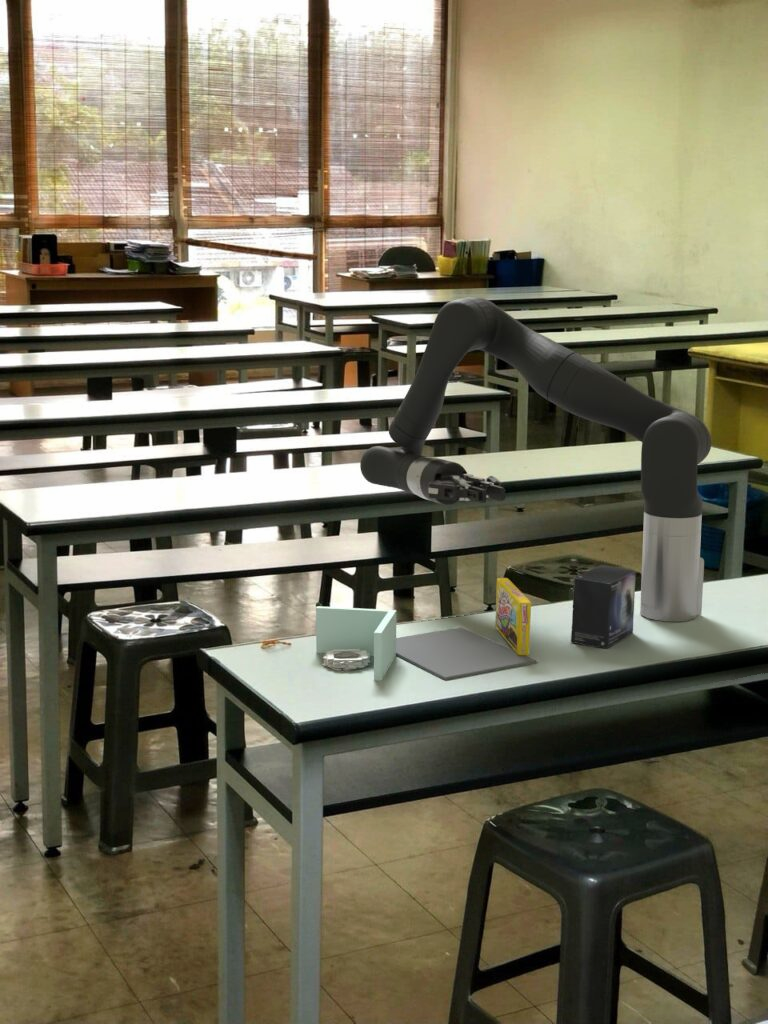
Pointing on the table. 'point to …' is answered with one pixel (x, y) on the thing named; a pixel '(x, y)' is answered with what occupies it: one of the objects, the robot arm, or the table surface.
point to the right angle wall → (356, 638)
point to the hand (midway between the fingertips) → (493, 495)
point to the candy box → (513, 616)
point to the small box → (603, 606)
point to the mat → (457, 653)
